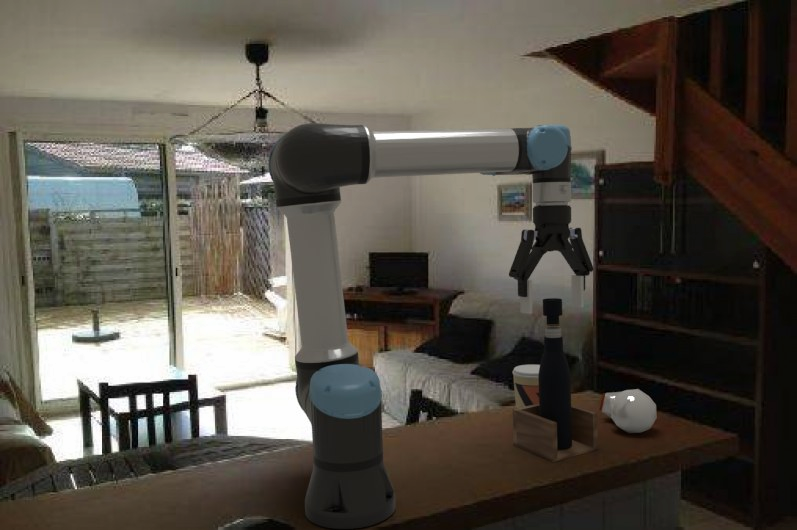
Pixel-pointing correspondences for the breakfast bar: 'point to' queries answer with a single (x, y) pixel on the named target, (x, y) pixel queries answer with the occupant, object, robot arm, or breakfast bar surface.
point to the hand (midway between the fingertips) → (552, 310)
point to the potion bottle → (629, 410)
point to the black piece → (555, 376)
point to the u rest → (554, 433)
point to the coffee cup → (526, 385)
